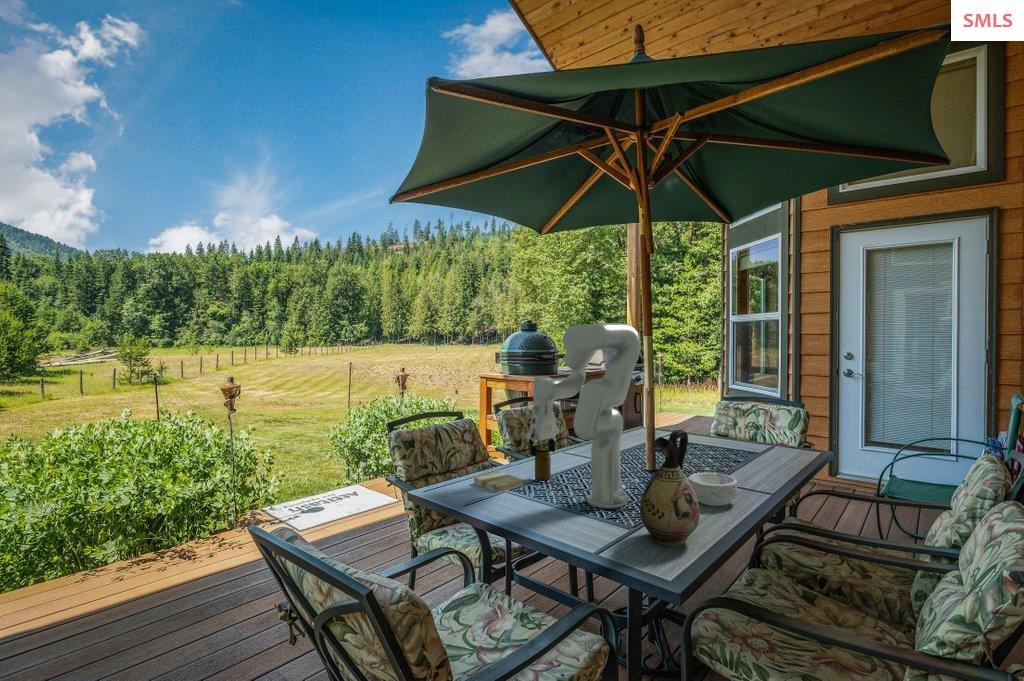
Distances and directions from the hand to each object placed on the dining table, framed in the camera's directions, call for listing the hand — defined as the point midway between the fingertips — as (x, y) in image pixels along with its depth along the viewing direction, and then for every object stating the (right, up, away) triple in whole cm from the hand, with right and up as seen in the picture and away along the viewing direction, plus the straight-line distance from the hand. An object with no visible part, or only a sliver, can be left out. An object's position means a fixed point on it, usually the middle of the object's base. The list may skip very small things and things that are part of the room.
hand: (542, 453), depth 192 cm
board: (-17, -11, -6) cm, 21 cm away
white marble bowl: (+55, -10, -27) cm, 62 cm away
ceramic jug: (+32, -11, -56) cm, 66 cm away
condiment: (+1, -11, 0) cm, 11 cm away
